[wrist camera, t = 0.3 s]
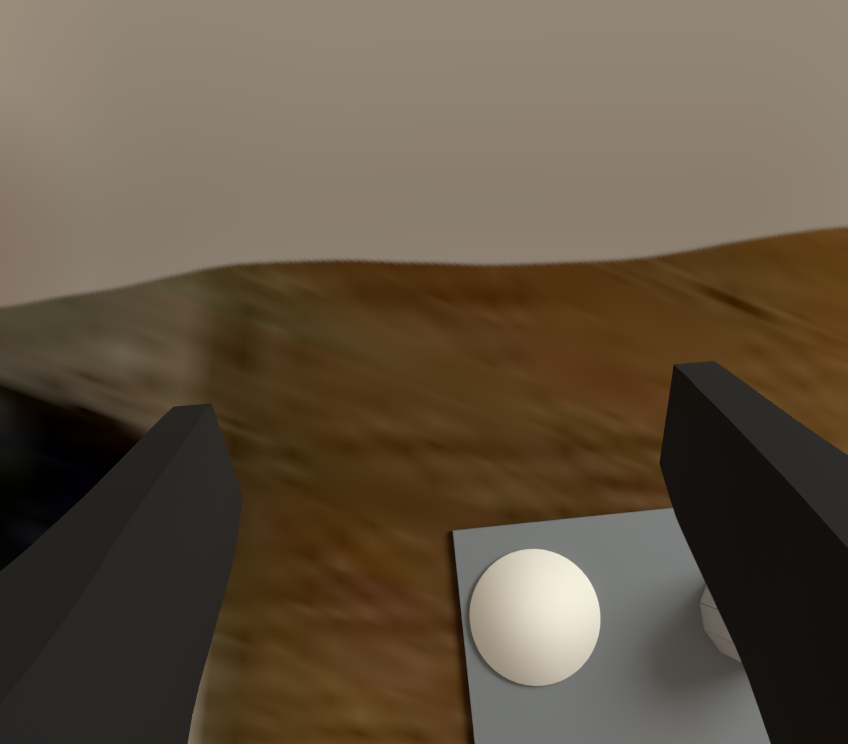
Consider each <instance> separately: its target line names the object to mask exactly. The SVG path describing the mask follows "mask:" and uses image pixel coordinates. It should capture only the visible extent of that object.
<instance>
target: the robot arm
mask: <svg viewBox="0 0 848 744" xmlns="http://www.w3.org/2000/svg"><path fill="white" fill-rule="evenodd" d="M660 467H661V470H662V473H663V477H664V480H665V484H666V487H667V490H668V494H669V497H670V500H671V503H672V506H673V509H674V513H675V516H676V519H677V521H678V524H679V526H680V528H681V530H682V533H683V535H684V537H685V539H686V541H687V544H688V546H689V548H690V550H691V552H692V555H693V557H694V559H695V561H696V563H697V566H698V568H699V570H700V572H701V574H702V576H703V579H704V581H705V583H706V585H707V587H708V589H709V591H710V594H711V596H712V598H713V600H714V602H715V604H716V606H717V609H718V611H719V613H720V615H721V617H722V619H723V622H724V624H725V626H726V628H727V630H728V632H729V634H730V637H731V639H732V641H733V643H734V645H735V648H736V650H737V652H738V655H739V657H740V660H741V662H742V664H743V667H744V669H745V672H746V674H747V677H748V679H749V682H750V685H751V688H752V691H753V694H754V697H755V700H756V703H757V706H758V708H759V711H760V714H761V717H762V720H763V723H764V726H765V729H766V732H767V734H768V737H769V740H770V743H771V744H848V455H847V454H845V453H844V452H842V451H841V450H839V449H838V448H836V447H835V446H833V445H832V444H830V443H829V442H827V441H826V440H824V439H823V438H821V437H820V436H818V435H817V434H815V433H814V432H813V431H811V430H810V429H808V428H807V427H805V426H804V425H803V424H801V423H800V422H798V421H797V420H795V419H794V418H793V417H791V416H790V415H788V414H787V413H786V412H784V411H783V410H782V409H780V408H779V407H777V406H776V405H775V404H773V403H772V402H771V401H769V400H768V399H766V398H765V397H764V396H762V395H761V394H760V393H758V392H757V391H755V390H754V389H753V388H751V387H750V386H749V385H747V384H746V383H745V382H743V381H742V380H740V379H739V378H738V377H736V376H735V375H733V374H732V373H731V372H729V371H728V370H726V369H725V368H723V367H722V366H721V365H719V364H718V363H716V362H714V361H709V362H697V363H686V364H674V367H673V374H672V381H671V388H670V394H669V401H668V408H667V415H666V422H665V429H664V436H663V443H662V450H661V456H660ZM241 503H242V495H241V492H240V488H239V485H238V482H237V479H236V476H235V473H234V470H233V467H232V464H231V461H230V458H229V455H228V452H227V449H226V446H225V443H224V440H223V437H222V434H221V431H220V428H219V425H218V422H217V418H216V415H215V412H214V409H213V406H212V404H201V405H189V406H177V407H173V408H172V409H171V410H170V411H169V412H167V413H166V414H165V415H164V416H163V417H162V418H161V419H160V420H159V421H158V422H157V423H156V424H155V425H154V426H153V427H152V428H151V429H150V430H149V431H148V432H147V433H146V434H145V435H144V437H143V438H142V439H141V440H140V441H139V442H138V443H137V444H136V445H135V446H134V447H133V448H132V449H131V450H130V451H129V452H128V453H127V454H126V455H125V456H124V457H123V458H122V459H121V460H120V461H119V462H118V463H117V464H116V465H115V466H114V467H113V468H112V469H111V470H110V471H109V472H108V473H107V474H106V475H105V476H104V477H103V478H102V479H101V480H100V481H99V482H98V483H97V484H96V485H95V486H94V487H93V488H92V489H91V490H90V491H89V492H88V493H87V494H86V495H85V496H84V497H83V498H82V499H81V500H80V501H79V502H78V503H77V504H76V505H75V506H74V507H73V508H72V509H70V510H69V511H68V512H67V513H66V514H65V515H64V516H63V517H62V518H61V519H60V520H59V521H57V522H56V523H55V524H54V525H53V526H52V527H51V528H50V529H49V530H48V531H47V532H46V533H44V534H43V535H42V536H41V537H40V538H39V539H38V540H37V541H36V542H35V543H34V544H33V545H31V546H30V547H29V548H28V549H27V550H26V551H25V552H23V553H22V554H21V555H20V556H19V557H18V558H16V559H15V560H14V561H13V562H12V563H10V564H9V565H8V566H7V567H6V568H4V569H3V570H2V571H1V572H0V744H187V743H188V737H189V731H190V725H191V719H192V714H193V710H194V706H195V701H196V697H197V693H198V688H199V684H200V681H201V677H202V673H203V670H204V666H205V662H206V659H207V655H208V652H209V648H210V644H211V641H212V637H213V633H214V630H215V626H216V622H217V619H218V615H219V612H220V608H221V604H222V601H223V597H224V593H225V590H226V586H227V582H228V578H229V575H230V571H231V567H232V563H233V559H234V555H235V549H236V542H237V535H238V528H239V520H240V512H241Z"/></svg>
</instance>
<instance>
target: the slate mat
mask: <svg viewBox="0 0 848 744" xmlns="http://www.w3.org/2000/svg"><path fill="white" fill-rule="evenodd" d="M452 531H453V540H454V550H455V560H456V569H457V579H458V589H459V598H460V608H461V618H462V627H463V637H464V647H465V656H466V666H467V676H468V685H469V695H470V705H471V714H472V724H473V734H474V743H475V744H771V743H770V740H769V737H768V734H767V732H766V729H765V726H764V723H763V720H762V717H761V714H760V711H759V708H758V706H757V703H756V700H755V697H754V694H753V691H752V688H751V685H750V682H749V679H748V677H747V674H746V672H745V669H744V667H743V664H742V663H741V662H739V661H737V660H735V659H733V658H731V657H729V656H727V655H725V654H723V653H722V652H720V651H719V649H718V648H717V647H716V645H715V644H714V643H713V641H712V640H711V639H710V637H709V636H708V634H707V633H706V632H705V630H704V626H703V620H702V614H701V607H700V601H701V598H702V595H703V593H704V590H705V587H706V583H705V581H704V579H703V576H702V574H701V572H700V570H699V568H698V566H697V563H696V561H695V559H694V557H693V555H692V552H691V550H690V548H689V546H688V544H687V541H686V539H685V537H684V535H683V533H682V530H681V528H680V526H679V524H678V521H677V519H676V516H675V513H674V509H673V508H666V509H656V510H646V511H637V512H627V513H617V514H608V515H598V516H588V517H578V518H569V519H559V520H549V521H540V522H530V523H520V524H511V525H501V526H491V527H481V528H472V529H462V530H452Z"/></svg>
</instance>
